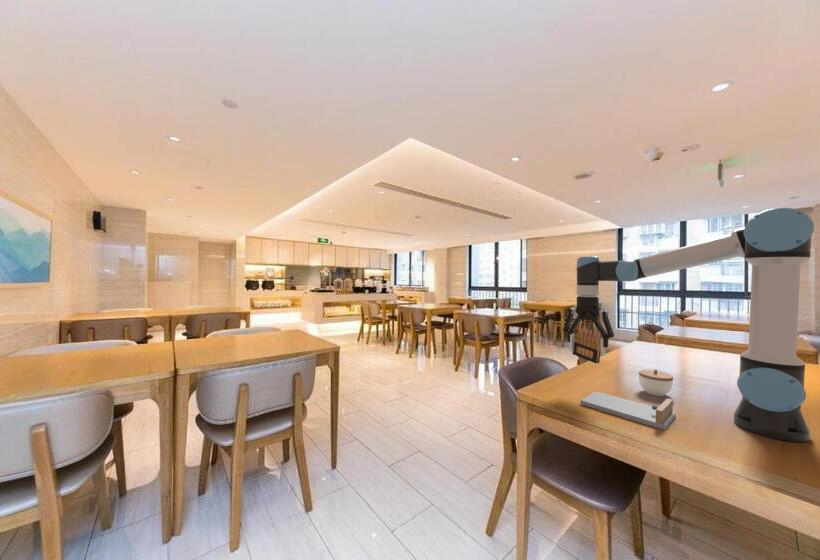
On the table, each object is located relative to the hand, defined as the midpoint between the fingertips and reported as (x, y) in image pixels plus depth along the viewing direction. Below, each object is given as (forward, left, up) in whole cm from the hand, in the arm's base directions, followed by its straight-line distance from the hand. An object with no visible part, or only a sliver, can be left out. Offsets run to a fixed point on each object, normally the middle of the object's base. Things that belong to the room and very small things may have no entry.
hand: (587, 352), depth 122 cm
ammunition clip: (+1, 0, -3) cm, 3 cm away
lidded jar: (-17, -23, -17) cm, 33 cm away
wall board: (-15, +5, -16) cm, 23 cm away
